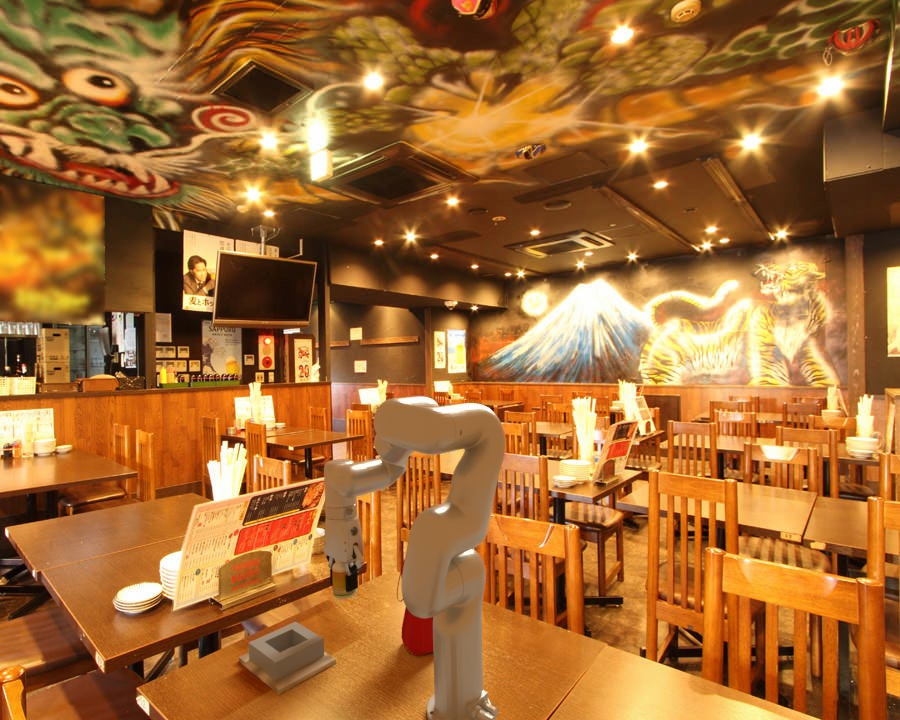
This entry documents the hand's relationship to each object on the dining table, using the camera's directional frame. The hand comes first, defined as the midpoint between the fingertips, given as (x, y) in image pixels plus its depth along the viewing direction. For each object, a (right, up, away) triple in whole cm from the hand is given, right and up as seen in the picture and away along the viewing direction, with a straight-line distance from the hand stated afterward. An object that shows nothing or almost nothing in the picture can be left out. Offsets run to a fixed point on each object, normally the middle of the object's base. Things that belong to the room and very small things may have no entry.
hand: (344, 585), depth 123 cm
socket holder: (-12, -15, -7) cm, 20 cm away
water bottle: (+18, -14, -1) cm, 23 cm away
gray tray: (-12, -15, -7) cm, 20 cm away
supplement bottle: (0, -2, 0) cm, 2 cm away
